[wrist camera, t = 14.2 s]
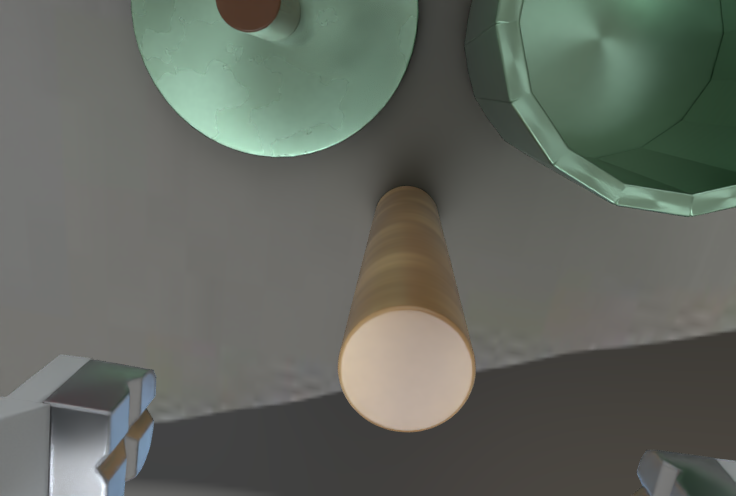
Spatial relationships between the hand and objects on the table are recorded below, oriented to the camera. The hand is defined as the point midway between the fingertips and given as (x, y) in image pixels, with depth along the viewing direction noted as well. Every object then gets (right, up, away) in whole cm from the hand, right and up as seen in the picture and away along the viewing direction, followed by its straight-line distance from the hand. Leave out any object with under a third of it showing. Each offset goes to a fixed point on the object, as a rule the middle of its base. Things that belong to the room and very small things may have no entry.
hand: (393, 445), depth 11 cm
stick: (+1, +5, +20) cm, 20 cm away
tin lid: (-4, +13, +17) cm, 22 cm away
